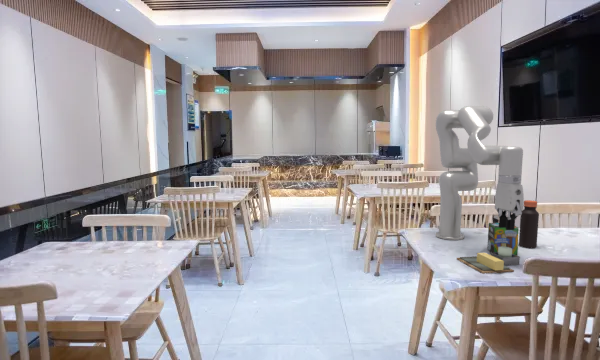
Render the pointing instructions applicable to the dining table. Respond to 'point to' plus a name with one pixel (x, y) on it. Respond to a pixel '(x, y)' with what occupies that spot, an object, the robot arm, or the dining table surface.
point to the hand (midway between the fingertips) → (506, 228)
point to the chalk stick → (490, 261)
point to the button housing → (507, 259)
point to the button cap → (505, 251)
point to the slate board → (481, 265)
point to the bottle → (529, 225)
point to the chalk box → (502, 238)
